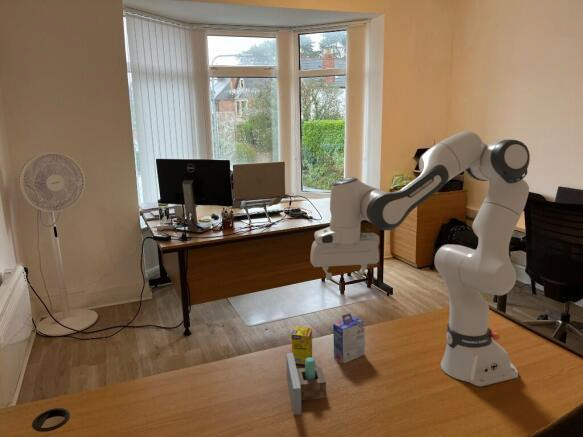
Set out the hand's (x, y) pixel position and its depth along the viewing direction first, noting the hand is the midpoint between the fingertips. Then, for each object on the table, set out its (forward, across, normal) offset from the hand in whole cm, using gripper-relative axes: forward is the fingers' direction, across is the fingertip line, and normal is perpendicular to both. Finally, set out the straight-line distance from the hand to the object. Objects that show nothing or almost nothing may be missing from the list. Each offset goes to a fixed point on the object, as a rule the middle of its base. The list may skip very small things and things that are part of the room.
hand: (344, 278), depth 129 cm
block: (+31, +12, +8) cm, 34 cm away
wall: (+31, +17, +9) cm, 37 cm away
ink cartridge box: (+31, -4, -9) cm, 33 cm away
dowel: (+30, +12, +8) cm, 33 cm away
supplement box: (+31, +12, -8) cm, 35 cm away
